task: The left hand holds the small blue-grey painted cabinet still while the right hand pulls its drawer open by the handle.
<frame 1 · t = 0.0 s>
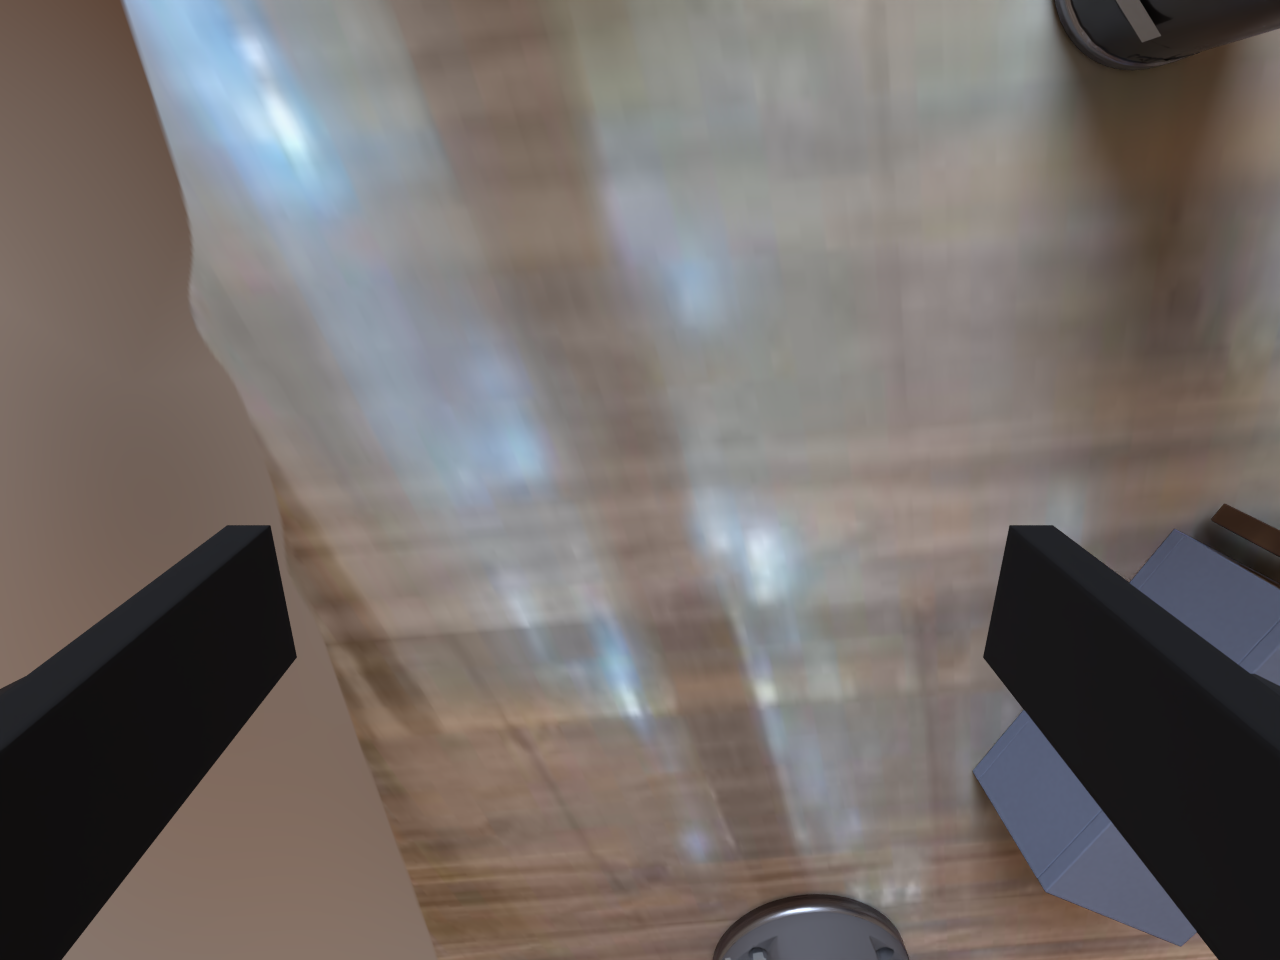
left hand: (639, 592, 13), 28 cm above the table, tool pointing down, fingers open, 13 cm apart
drawer: (1247, 662, 41), point 5 cm above the table, slide at 1.4 cm
cabinet: (1126, 686, 47), on the table
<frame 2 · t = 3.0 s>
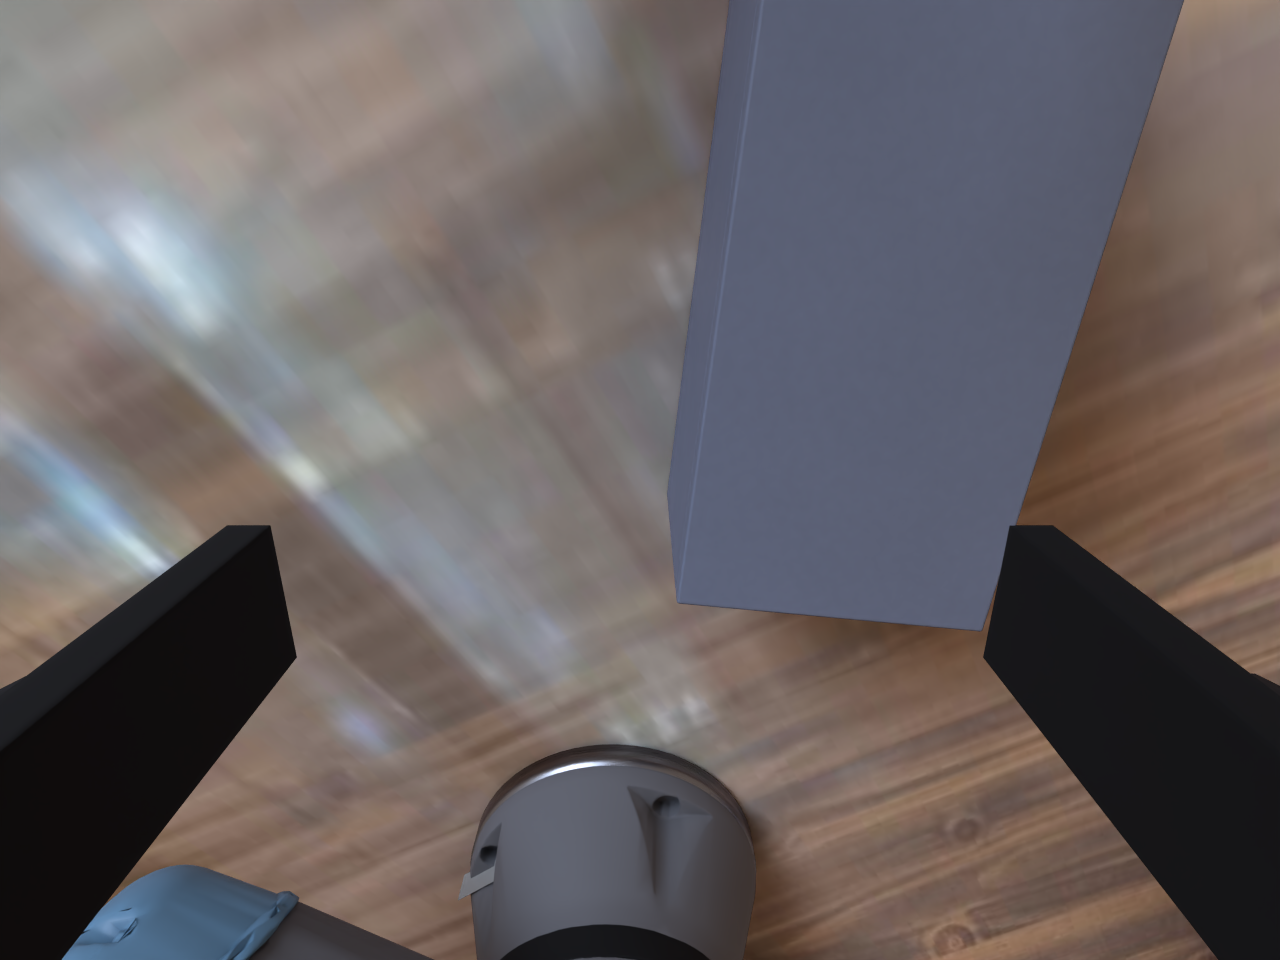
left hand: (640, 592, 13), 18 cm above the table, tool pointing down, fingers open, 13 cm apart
cabinet: (823, 266, 28), on the table
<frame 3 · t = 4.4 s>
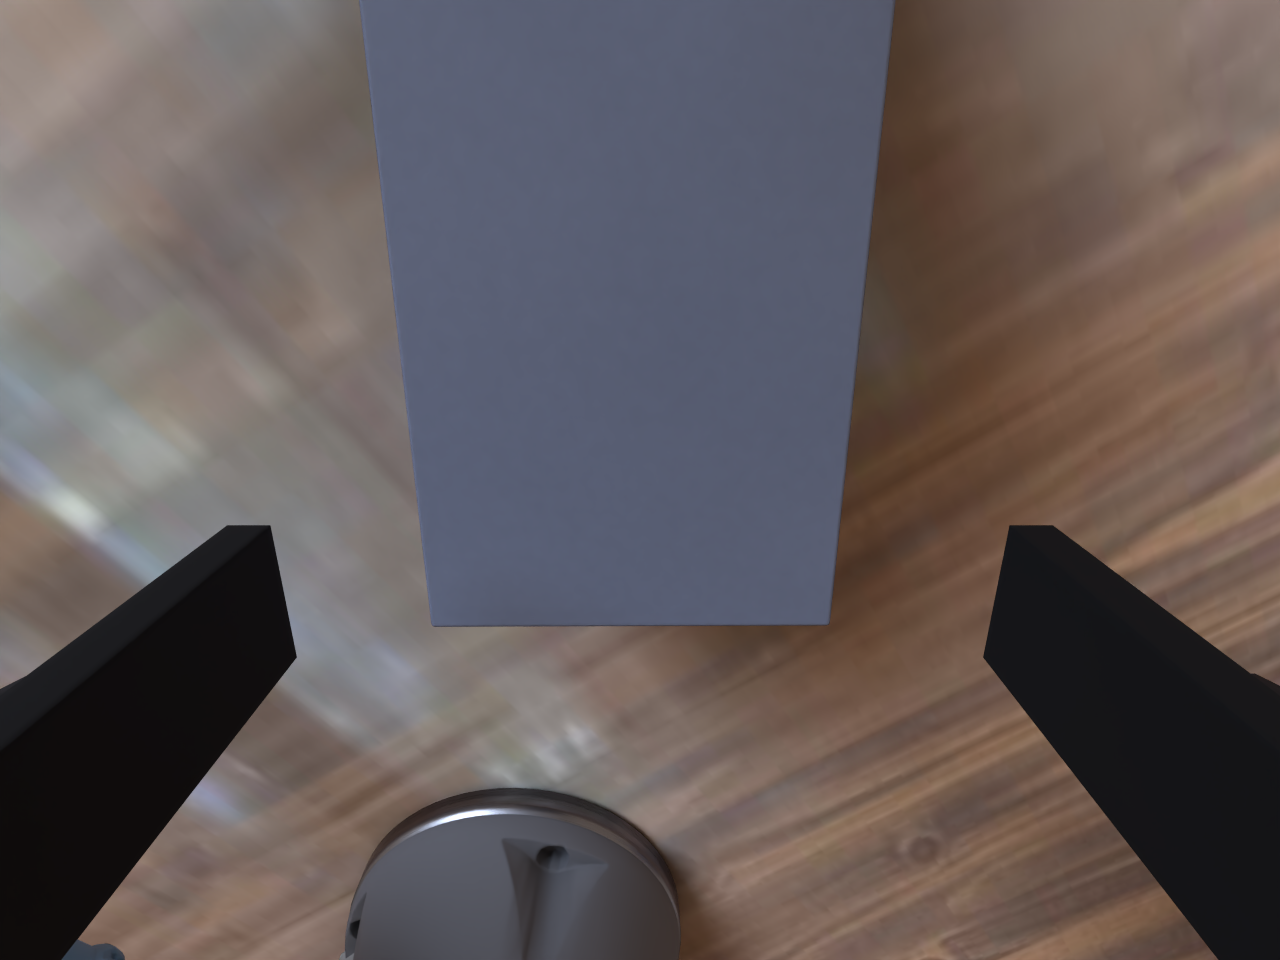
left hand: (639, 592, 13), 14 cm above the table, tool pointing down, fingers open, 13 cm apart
cabinet: (631, 197, 23), on the table
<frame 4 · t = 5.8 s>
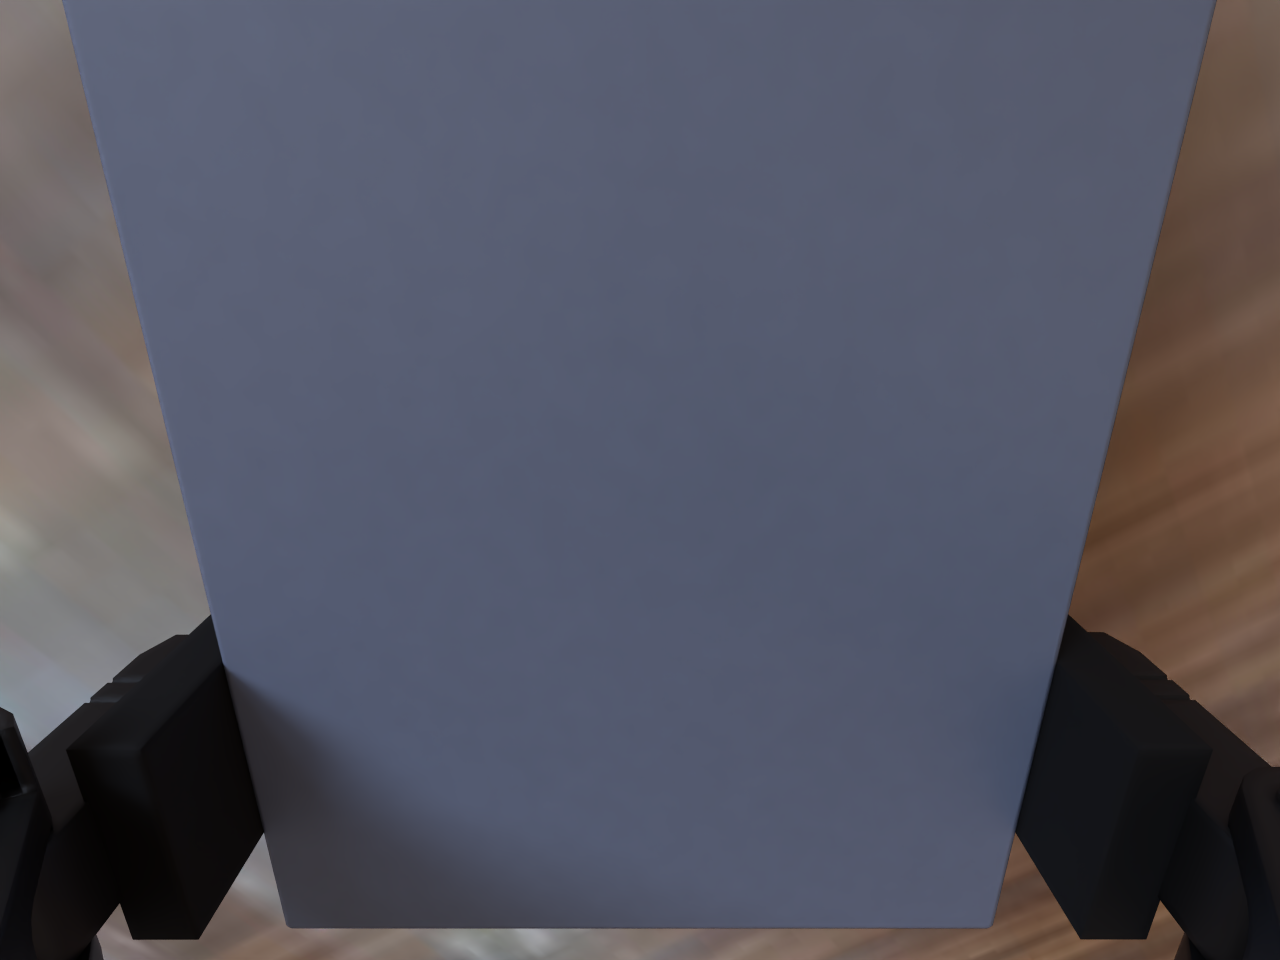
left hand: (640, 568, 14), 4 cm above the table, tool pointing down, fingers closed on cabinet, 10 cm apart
cabinet: (639, 174, 15), on the table, touching left hand
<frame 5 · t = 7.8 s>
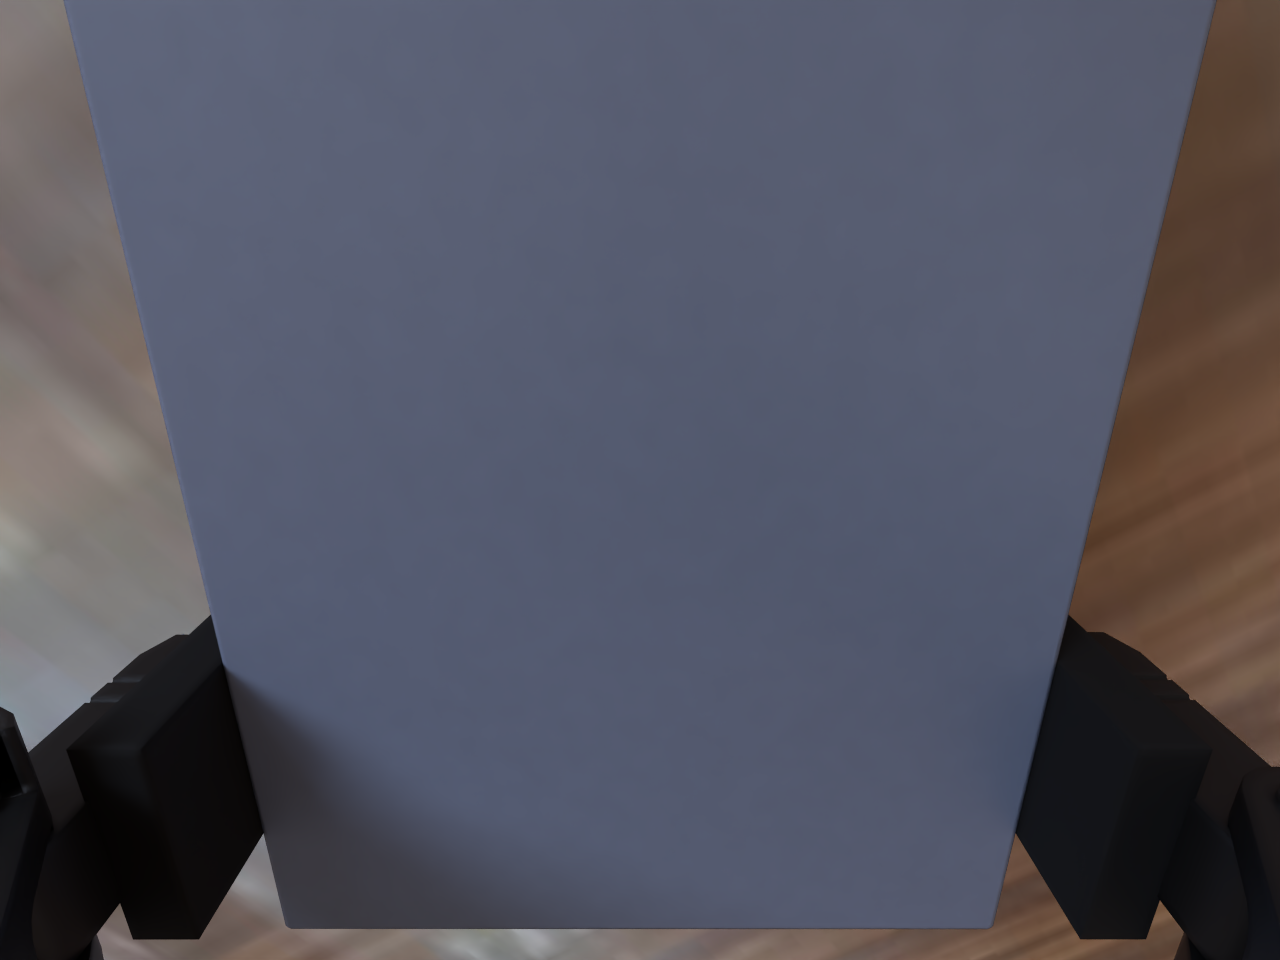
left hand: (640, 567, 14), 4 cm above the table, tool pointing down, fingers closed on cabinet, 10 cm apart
cabinet: (639, 175, 15), on the table, touching left hand
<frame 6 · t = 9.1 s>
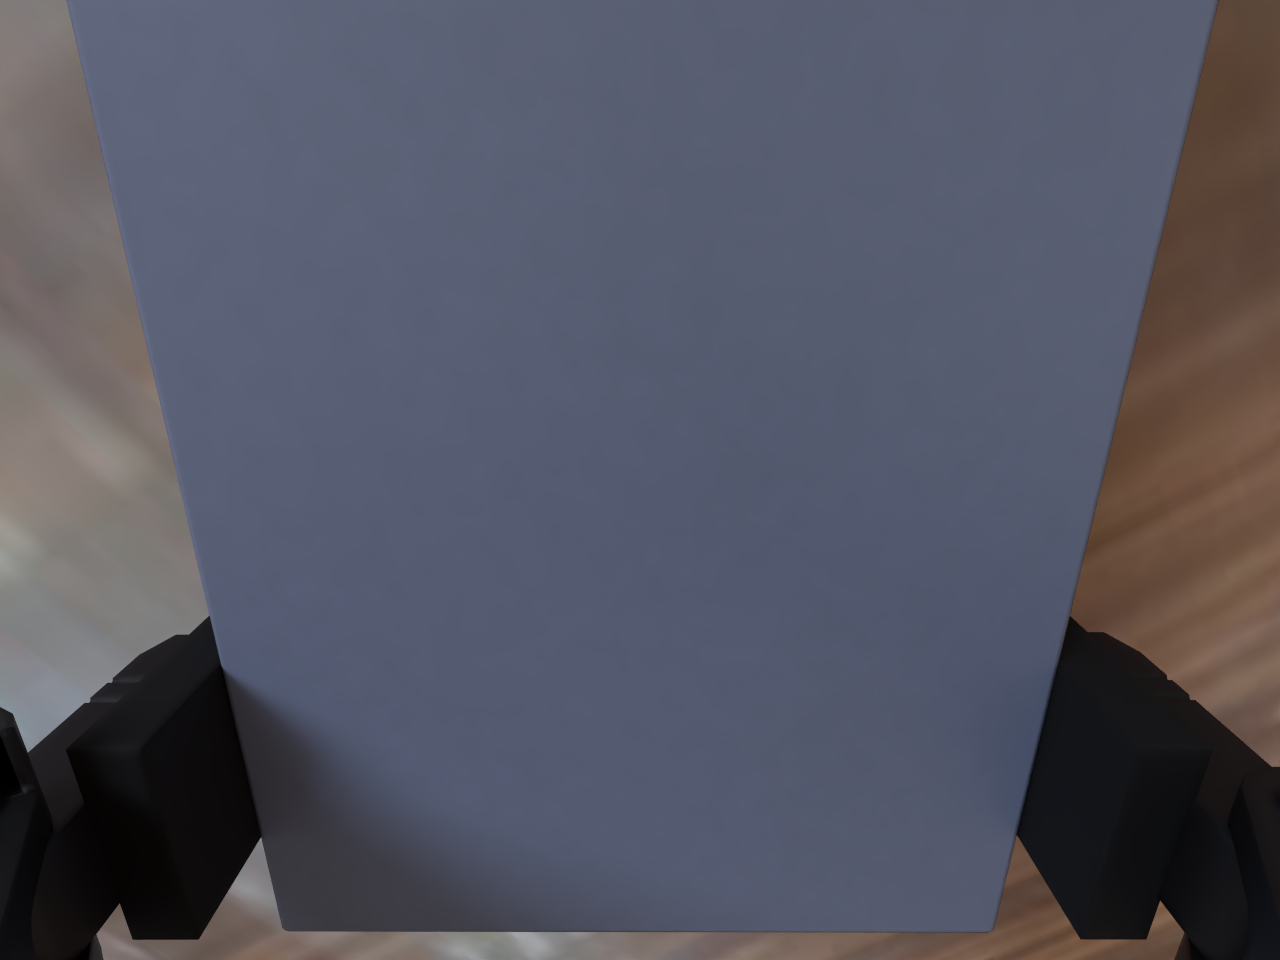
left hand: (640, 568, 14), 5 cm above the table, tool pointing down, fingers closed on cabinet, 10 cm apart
cabinet: (640, 176, 15), on the table, touching left hand
when the left hand's fingers open (5 cm above the table, at t = 10.7 s): cabinet stays where it is, on the table.
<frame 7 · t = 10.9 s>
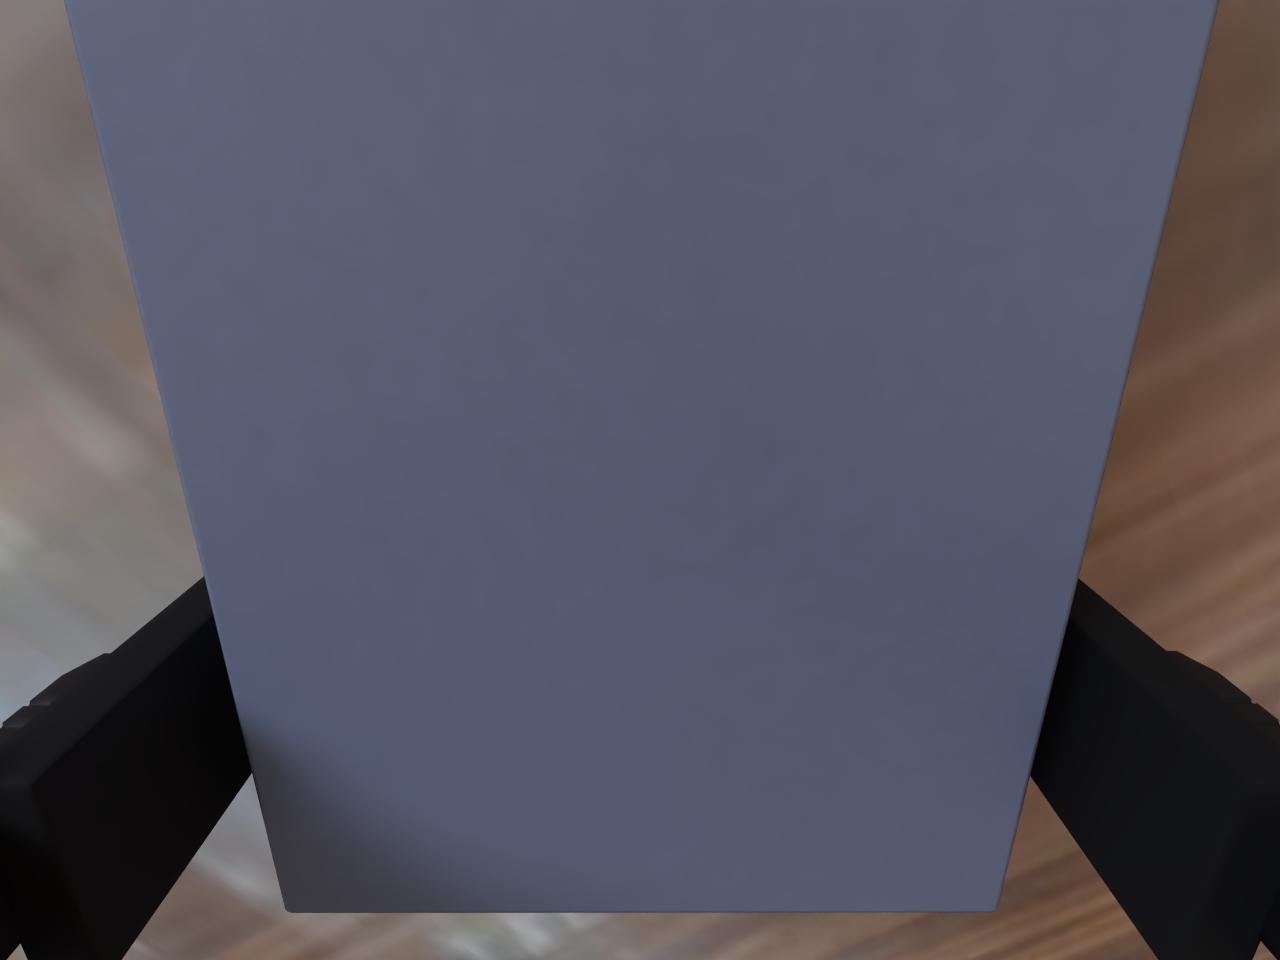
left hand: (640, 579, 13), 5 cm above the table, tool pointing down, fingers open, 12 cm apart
cabinet: (640, 158, 15), on the table
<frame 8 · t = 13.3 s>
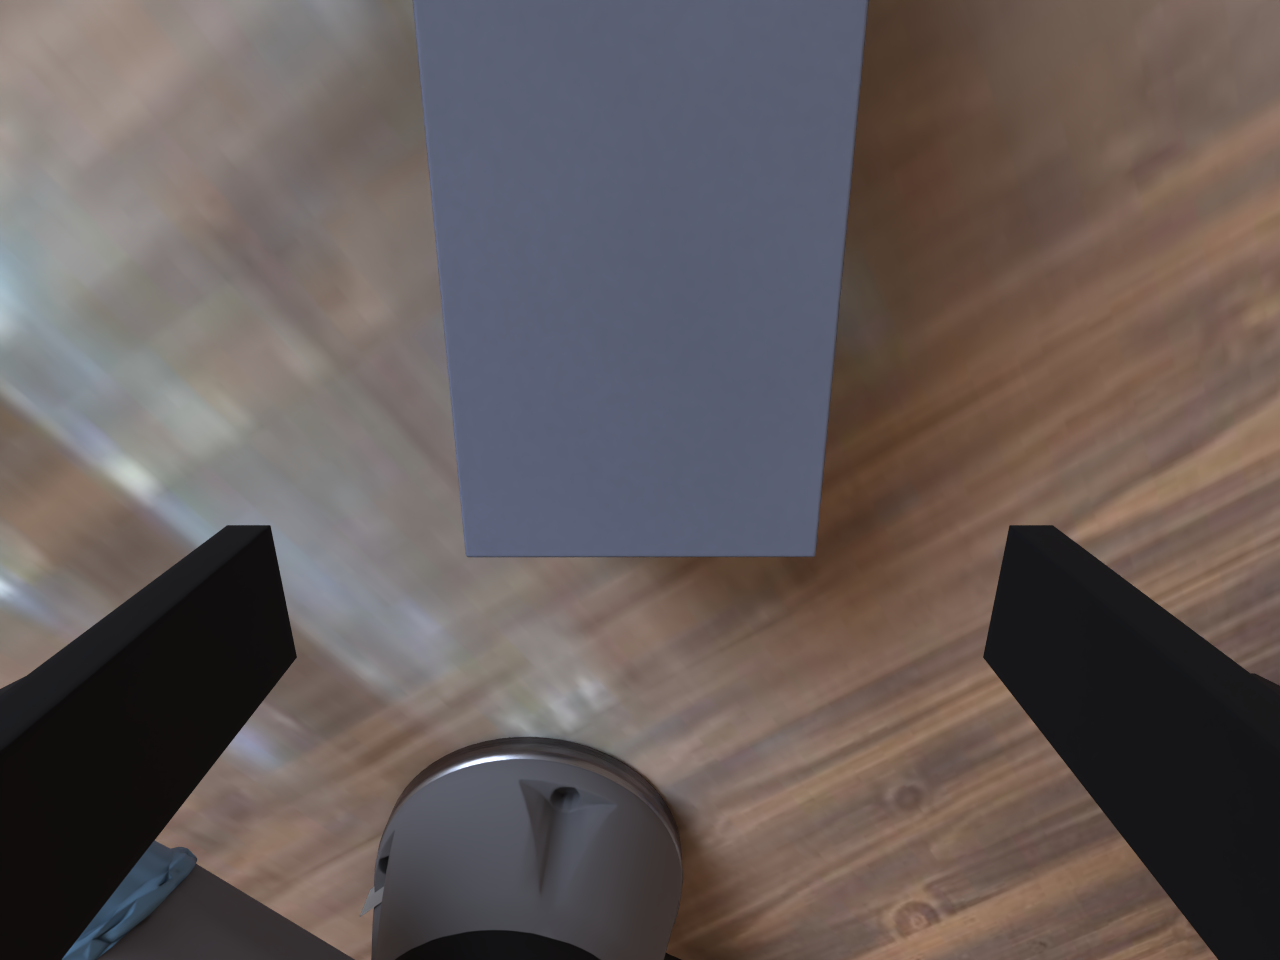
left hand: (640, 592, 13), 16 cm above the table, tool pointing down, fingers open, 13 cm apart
cabinet: (640, 182, 26), on the table
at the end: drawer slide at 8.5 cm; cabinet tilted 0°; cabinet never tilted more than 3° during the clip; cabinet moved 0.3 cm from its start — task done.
